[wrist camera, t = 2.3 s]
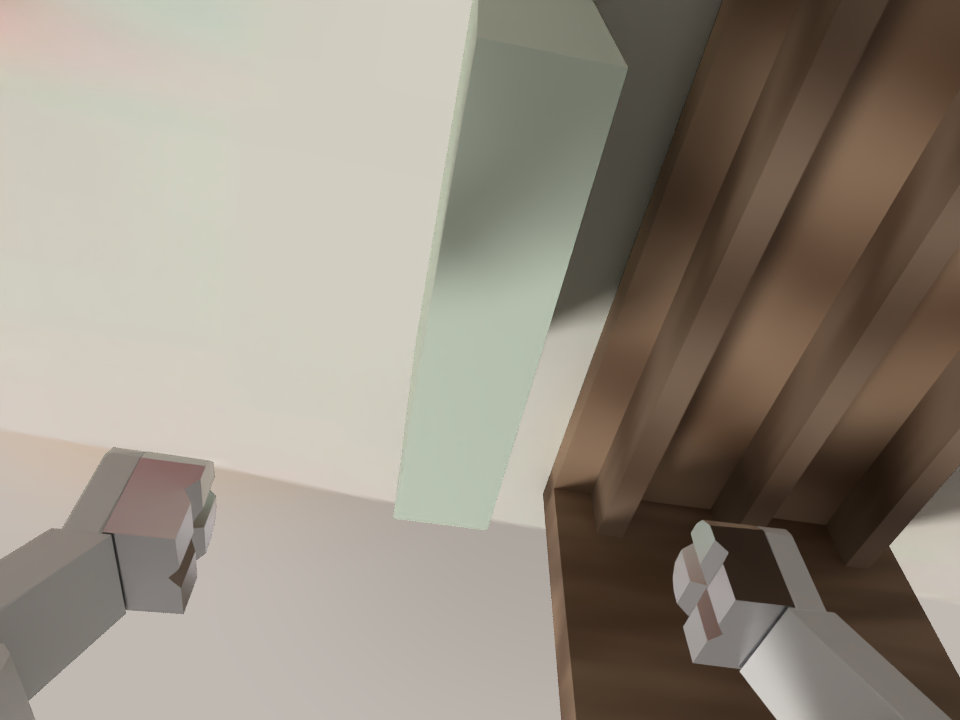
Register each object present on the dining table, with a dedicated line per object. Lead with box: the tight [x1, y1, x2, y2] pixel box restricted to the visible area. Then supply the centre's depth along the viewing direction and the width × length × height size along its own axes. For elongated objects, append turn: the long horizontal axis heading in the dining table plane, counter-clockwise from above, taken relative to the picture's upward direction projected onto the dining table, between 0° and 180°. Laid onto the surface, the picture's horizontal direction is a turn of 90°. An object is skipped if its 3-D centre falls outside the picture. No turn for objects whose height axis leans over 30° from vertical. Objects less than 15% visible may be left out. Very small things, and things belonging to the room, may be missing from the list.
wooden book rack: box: [543, 0, 960, 720], centre depth 18 cm, size 26×14×12 cm, turn 169°
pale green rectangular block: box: [393, 0, 628, 530], centre depth 18 cm, size 12×2×8 cm, turn 169°
